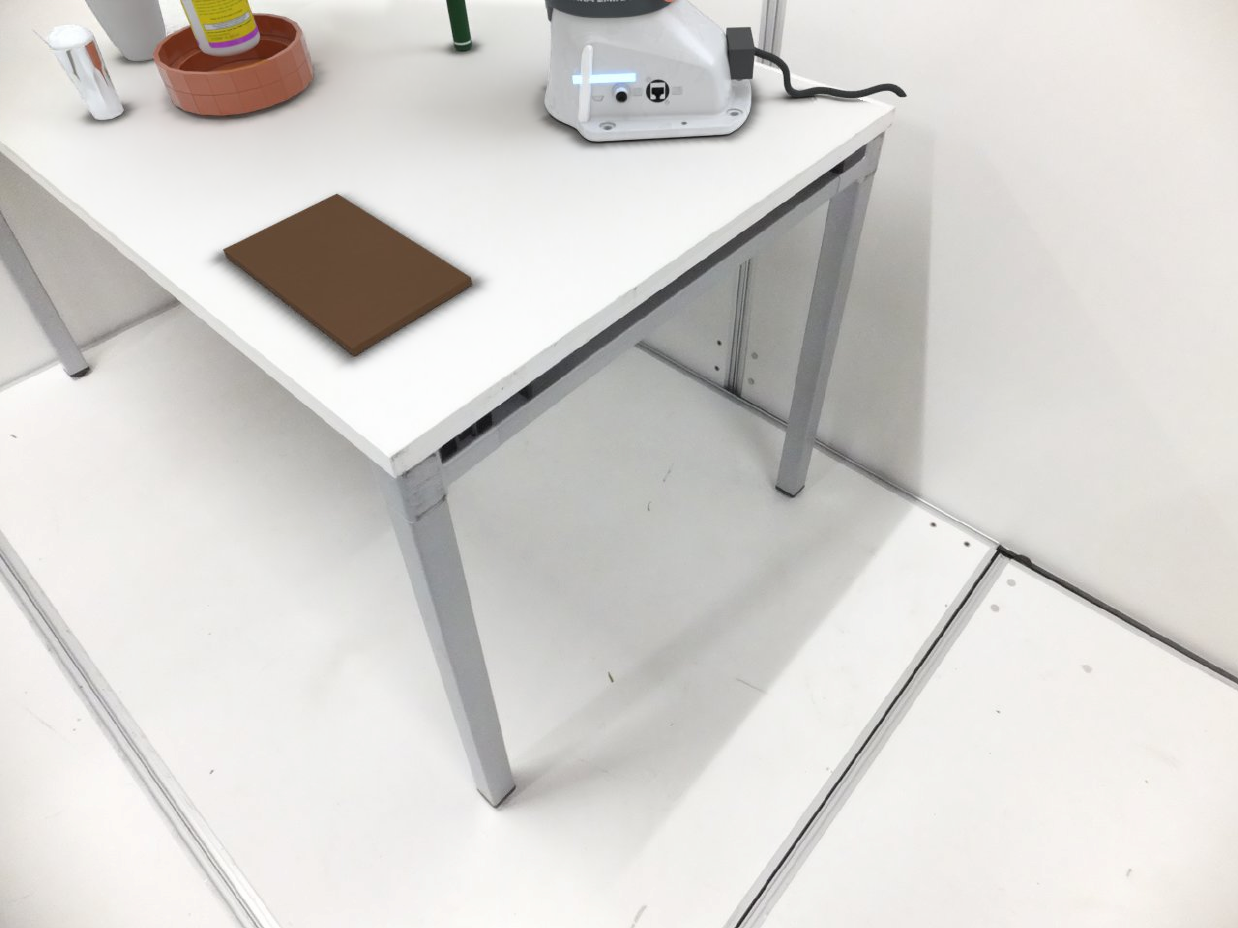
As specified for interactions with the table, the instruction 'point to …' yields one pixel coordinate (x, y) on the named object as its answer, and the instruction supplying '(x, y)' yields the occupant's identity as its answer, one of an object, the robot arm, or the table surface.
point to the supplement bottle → (222, 26)
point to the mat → (347, 272)
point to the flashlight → (459, 24)
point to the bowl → (236, 70)
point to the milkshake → (85, 69)
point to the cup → (131, 25)
